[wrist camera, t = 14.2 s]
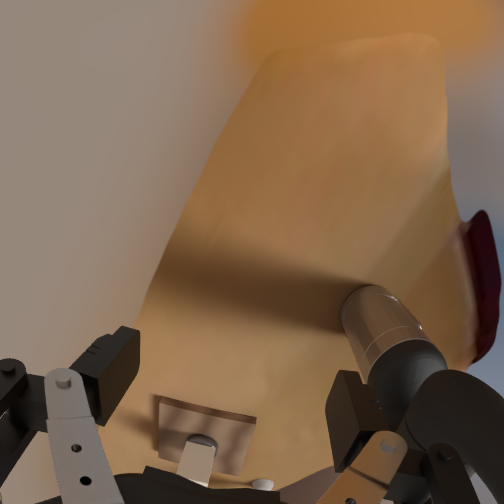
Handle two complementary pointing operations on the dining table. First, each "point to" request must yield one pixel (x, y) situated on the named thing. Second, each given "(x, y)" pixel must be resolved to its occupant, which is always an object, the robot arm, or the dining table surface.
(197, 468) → the cream rectangular block
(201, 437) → the dark grey cylinder
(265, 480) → the chalice
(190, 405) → the walnut block
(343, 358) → the dining table surface
